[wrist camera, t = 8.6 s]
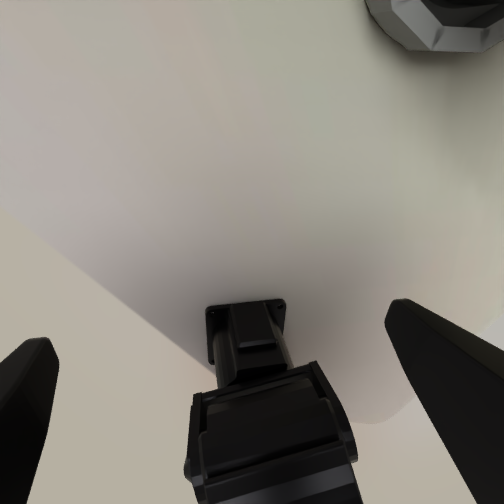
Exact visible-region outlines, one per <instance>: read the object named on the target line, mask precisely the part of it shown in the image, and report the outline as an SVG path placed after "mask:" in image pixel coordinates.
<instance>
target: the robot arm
mask: <svg viewBox="0 0 504 504" xmlns="http://www.w3.org/2000/svg"><path fill="white" fill-rule="evenodd" d="M280 304H281V305H280ZM278 305H280V306H278ZM210 312H214V313H210ZM285 313H286V303H285V301H284V300H283V299H274V300H264V301H255V302H246V303H236V304H227V305H217V306H210V307H208V308H207V309H206V311H205V315H206V331H207V347H208V362H209V364H211V365H215V369H216V377H217V385H218V389H216V390H212V391H209V392H205V393H202V392H200V393H196V394H194V395H193V405H192V406H191V411H190V423H189V434H188V446H187V457H186V460H185V464H184V475H185V478H186V479H187V480H189V481H190V482H191V483H192V485H193V488H194V491H195V495H196V498H197V502H198V504H363V501H362V498H361V495H360V491H359V488H358V485H357V481H356V478H355V475H354V471H353V468H352V465H351V463H354V462H357V461H358V453H357V447H356V443H355V439H354V436H353V432H352V429H351V426H350V423H349V421H348V418H347V416H346V413H345V411H344V409H343V406H342V404H341V402H340V401H339V399H338V397H337V395H336V394H335V392H334V390H333V388H332V387H331V385H330V383H329V382H328V380H327V378H326V376H325V375H324V373H323V371H322V370H321V368H320V366H319V364H318V363H317V361H312V362H309V364H307V365H303V366H299V367H296V368H294V366H293V364H292V361H291V358H290V355H289V352H288V350H287V347H286V344H285V341H284V339H283V330H284V321H285ZM384 323H385V328H386V331H387V333H388V335H389V338H390V340H391V342H392V345H393V347H394V349H395V351H396V354H397V356H398V358H399V361H400V363H401V365H402V368H403V370H404V372H405V374H406V376H407V378H408V380H409V382H410V384H411V386H412V387H413V389H414V391H415V393H416V395H417V396H418V398H419V400H420V401H421V403H422V405H423V407H424V409H425V411H426V412H427V414H428V416H429V418H430V420H431V422H432V423H433V425H434V427H435V429H436V431H437V432H438V434H439V436H440V438H441V439H442V441H443V443H444V445H445V447H446V449H447V450H448V452H449V454H450V456H451V458H452V459H453V461H454V463H455V465H456V467H457V468H458V470H459V472H460V474H461V476H462V477H463V479H464V481H465V483H466V484H467V486H468V488H469V490H470V492H471V494H472V495H473V497H474V499H475V501H476V503H477V504H504V351H503V350H501V349H499V348H498V347H496V346H494V345H492V344H490V343H488V342H487V341H484V340H483V339H481V338H479V337H477V336H476V335H474V334H472V333H470V332H468V331H466V330H465V329H463V328H461V327H459V326H457V325H455V324H454V323H452V322H450V321H448V320H446V319H444V318H443V317H441V316H439V315H437V314H435V313H434V312H432V311H430V310H428V309H426V308H424V307H423V306H421V305H419V304H417V303H415V302H413V301H412V300H410V299H406V298H404V299H395V300H393V301H392V302H391V304H390V307H389V309H388V312H387V315H386V317H385V321H384ZM58 372H59V359H58V357H57V355H56V352H55V350H54V348H53V345H52V343H51V341H50V339H49V338H47V337H41V338H32V339H28V340H26V341H25V342H23V343H22V344H21V345H20V346H19V347H18V348H17V349H15V350H14V351H13V352H12V353H11V354H10V355H9V356H8V357H6V358H5V359H4V360H3V361H2V362H1V363H0V504H27V500H28V496H29V494H30V490H31V487H32V484H33V480H34V477H35V474H36V470H37V467H38V463H39V460H40V457H41V453H42V450H43V447H44V443H45V439H46V436H47V432H48V427H49V422H50V416H51V411H52V406H53V400H54V394H55V389H56V383H57V377H58Z"/></svg>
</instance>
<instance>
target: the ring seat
mask: <svg viewBox="0 0 504 504" xmlns="http://www.w3.org/2000/svg"><path fill="white" fill-rule="evenodd" d="M365 1H366V3H367V5H368V8H369V10H370V12H371V14H372V15H373V17H374V18H375V20H376V22H377V23H378V24H379V26H380V27H381V28H382V29H383V30H384V31H385V33H387V34H388V35H389V36H390V37H391V38H393V39H394V40H395V41H397V42H399V43H400V44H402V45H403V46H404V47H405V48H406V49H407V50H418V51H445V52H468V53H482V52H484V51H485V50H487V49H489V48H490V47H492V46H494V45H495V44H497V43H499V42H501V41H502V40H504V3H497V4H490V5H483V6H477V7H468V8H459V9H450V8H443V7H440V6H438V5H435V4H433V3H432V2H430V1H429V0H365Z"/></svg>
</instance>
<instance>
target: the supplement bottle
mask: <svg viewBox="0 0 504 504" xmlns="http://www.w3.org/2000/svg"><path fill="white" fill-rule="evenodd" d="M429 1H430V2H432V3H433V4H435V5H438V6H440V7H443V8H450V9H459V8H468V7H477V6H483V5H490V4H497V3H504V0H429Z"/></svg>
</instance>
